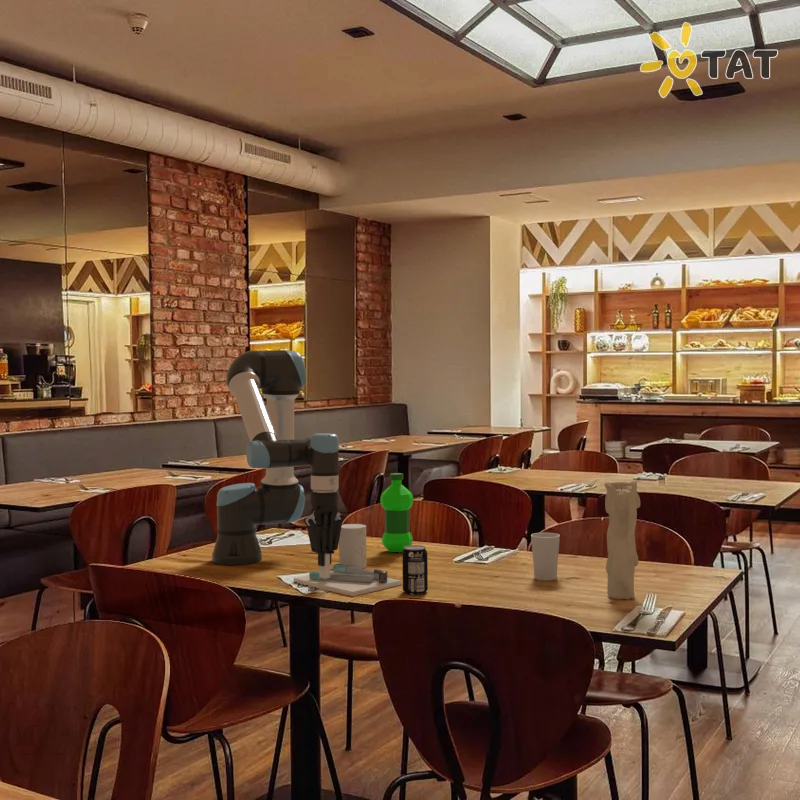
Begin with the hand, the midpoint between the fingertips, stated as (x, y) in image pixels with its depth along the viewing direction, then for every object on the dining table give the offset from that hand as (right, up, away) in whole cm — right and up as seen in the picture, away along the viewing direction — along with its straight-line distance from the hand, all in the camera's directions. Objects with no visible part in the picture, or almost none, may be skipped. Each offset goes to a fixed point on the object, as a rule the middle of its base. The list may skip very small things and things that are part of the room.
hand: (324, 577), depth 266 cm
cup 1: (+6, -2, +26) cm, 27 cm away
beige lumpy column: (+77, -2, -16) cm, 79 cm away
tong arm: (+5, -1, +1) cm, 5 cm away
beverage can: (+24, -3, -8) cm, 26 cm away
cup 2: (+61, -2, +8) cm, 62 cm away
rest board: (+6, -2, +3) cm, 7 cm away
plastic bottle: (+20, -1, +48) cm, 52 cm away
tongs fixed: (+9, -2, +6) cm, 11 cm away
